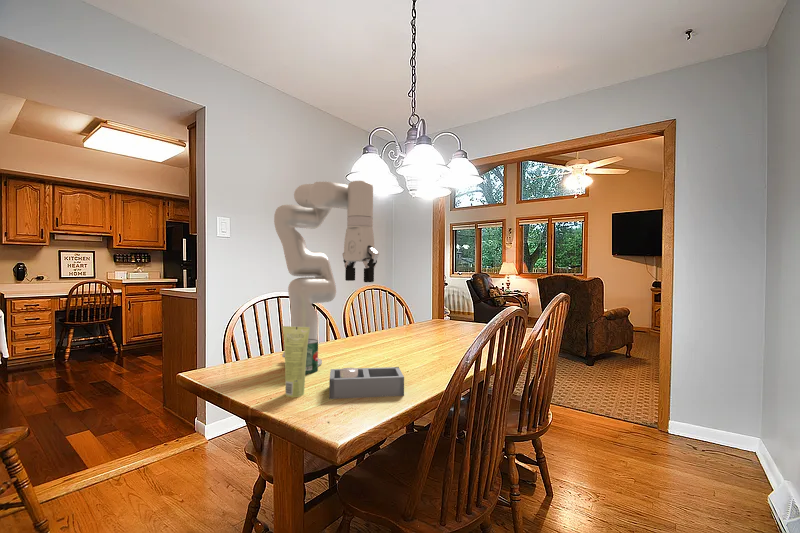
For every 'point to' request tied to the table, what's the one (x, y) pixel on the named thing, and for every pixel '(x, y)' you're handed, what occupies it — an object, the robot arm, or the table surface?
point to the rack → (367, 383)
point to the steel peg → (349, 373)
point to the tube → (295, 359)
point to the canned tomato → (312, 357)
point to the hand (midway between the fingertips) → (359, 281)
